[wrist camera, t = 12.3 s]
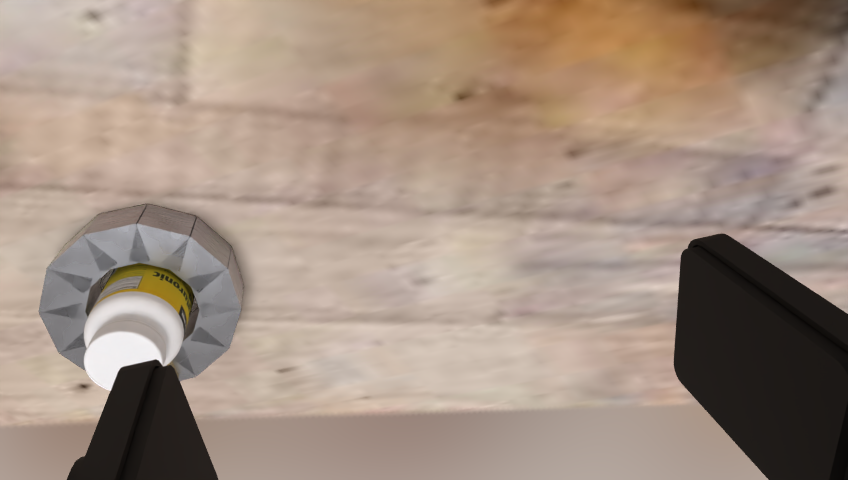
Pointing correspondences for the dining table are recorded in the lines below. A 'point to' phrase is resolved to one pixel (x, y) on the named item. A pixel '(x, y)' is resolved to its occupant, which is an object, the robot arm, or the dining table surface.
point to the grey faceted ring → (154, 245)
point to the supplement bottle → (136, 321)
